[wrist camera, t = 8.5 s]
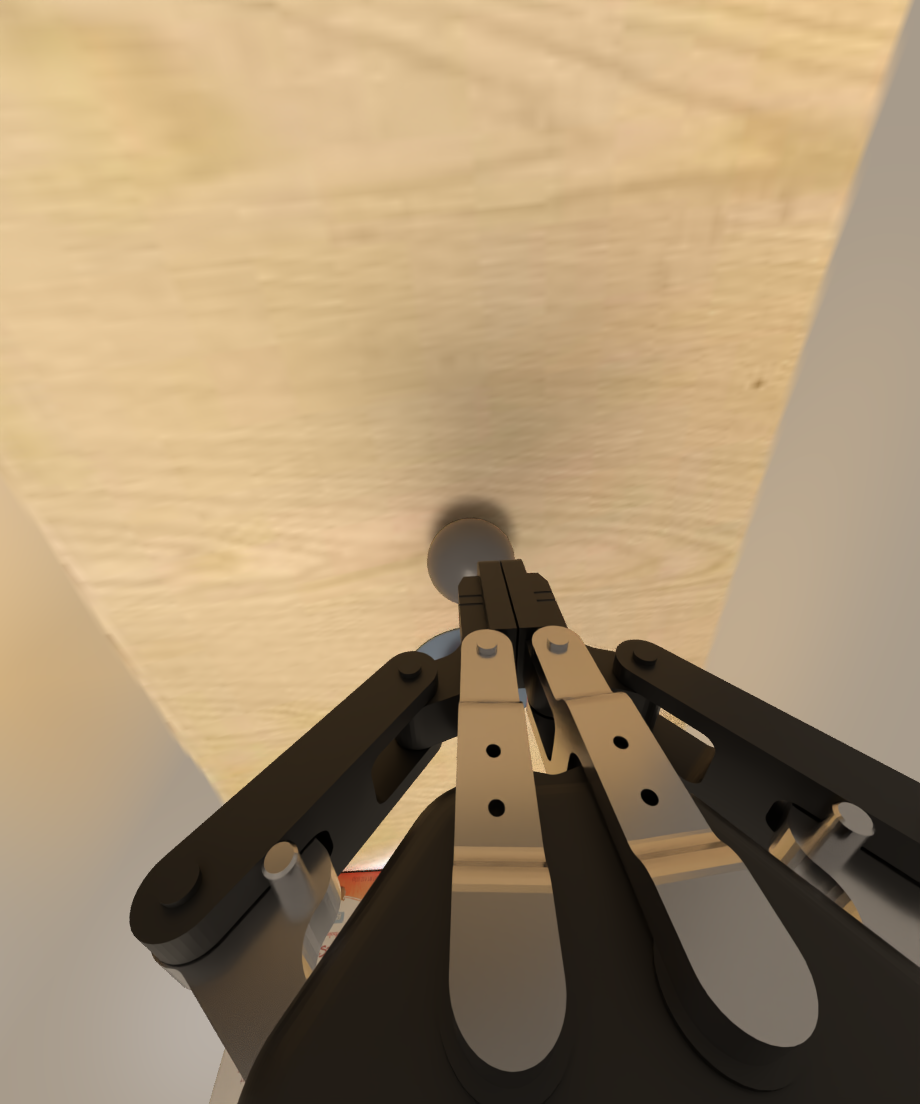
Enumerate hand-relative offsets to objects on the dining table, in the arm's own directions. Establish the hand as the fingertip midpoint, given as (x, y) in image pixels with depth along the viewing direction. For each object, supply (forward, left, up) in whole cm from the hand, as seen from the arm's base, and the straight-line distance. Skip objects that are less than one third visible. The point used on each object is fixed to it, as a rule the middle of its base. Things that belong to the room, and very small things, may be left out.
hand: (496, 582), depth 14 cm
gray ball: (-4, +4, -10) cm, 11 cm away
